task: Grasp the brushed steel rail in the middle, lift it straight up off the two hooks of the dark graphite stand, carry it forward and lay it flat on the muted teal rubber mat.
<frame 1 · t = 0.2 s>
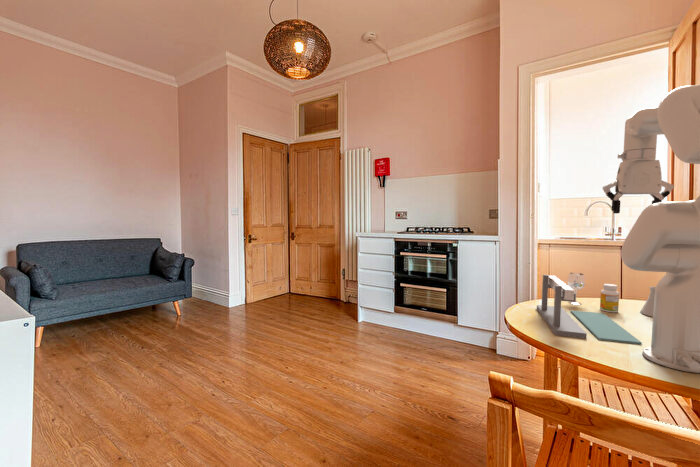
hand: (635, 213, 102), 36 cm above the table, tool pointing down, fingers open, 9 cm apart
rail stand: (558, 321, 111), on the table
wineglass: (575, 303, 133), on the table
flask: (653, 315, 118), on the table
steel rail: (558, 290, 110), point 10 cm above the table, touching rail stand
supplement bottle: (608, 311, 124), on the table
teal mat: (601, 326, 107), on the table
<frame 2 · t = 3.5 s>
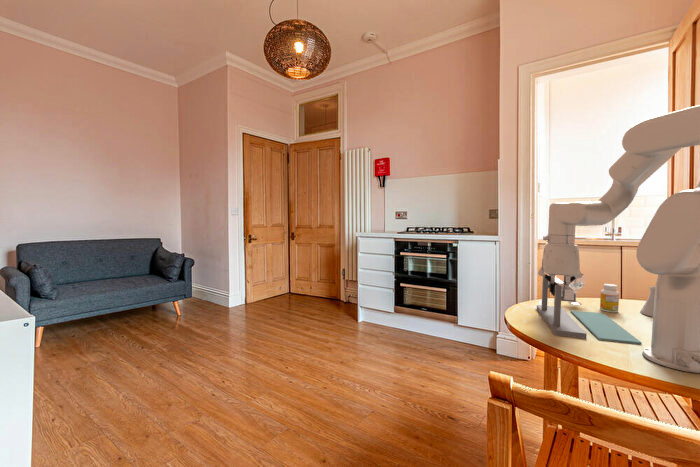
hand: (558, 294, 110), 9 cm above the table, tool pointing down, fingers closed on steel rail, 2 cm apart
steel rail: (558, 290, 110), point 11 cm above the table, touching gripper, rail stand
everything else where it was.
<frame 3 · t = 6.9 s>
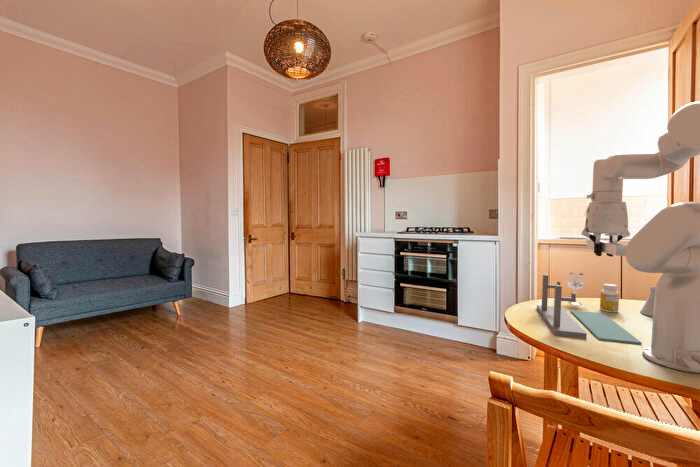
hand: (604, 255, 105), 23 cm above the table, tool pointing down, fingers closed on steel rail, 2 cm apart
steel rail: (604, 251, 105), point 24 cm above the table, touching gripper
everything else where it was.
when the fingers open (2 cm above the table, at t = 10.6 s): steel rail drops 2 cm, resting on teal mat.
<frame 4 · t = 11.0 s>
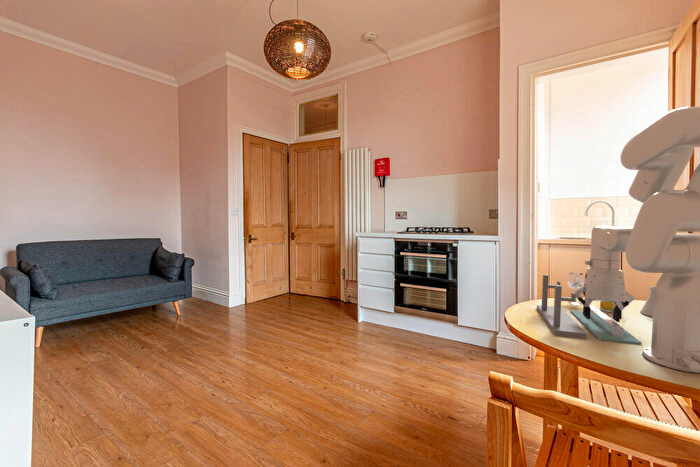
hand: (601, 319, 107), 2 cm above the table, tool pointing down, fingers open, 7 cm apart
steel rail: (601, 324, 107), point 1 cm above the table, touching teal mat
everything else where it was.
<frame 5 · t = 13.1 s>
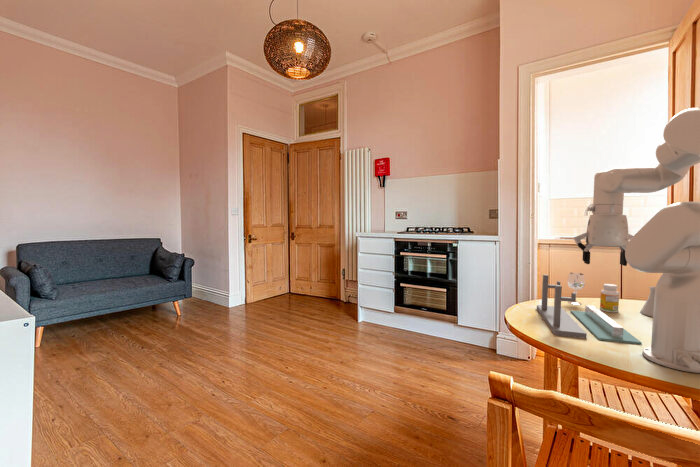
hand: (604, 264, 106), 20 cm above the table, tool pointing down, fingers open, 9 cm apart
nothing on the table moved.
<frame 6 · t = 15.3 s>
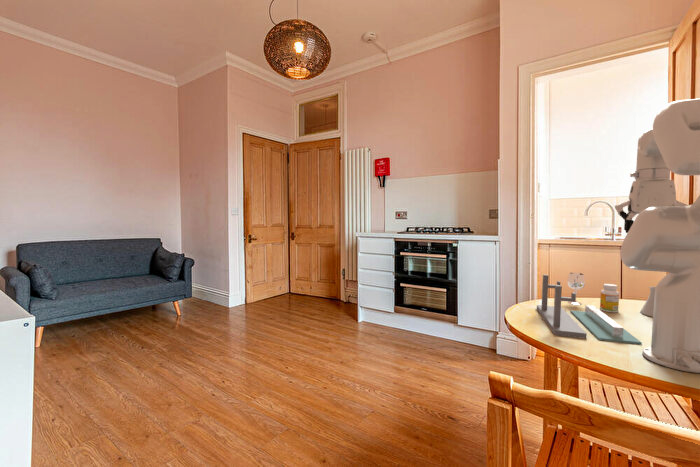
hand: (648, 233, 100), 30 cm above the table, tool pointing down, fingers open, 9 cm apart
nothing on the table moved.
at the end: steel rail inside the target area (0.2 cm from its centre), point 0.6 cm above the table; steel rail tilted 0°; the gripper is holding nothing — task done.
